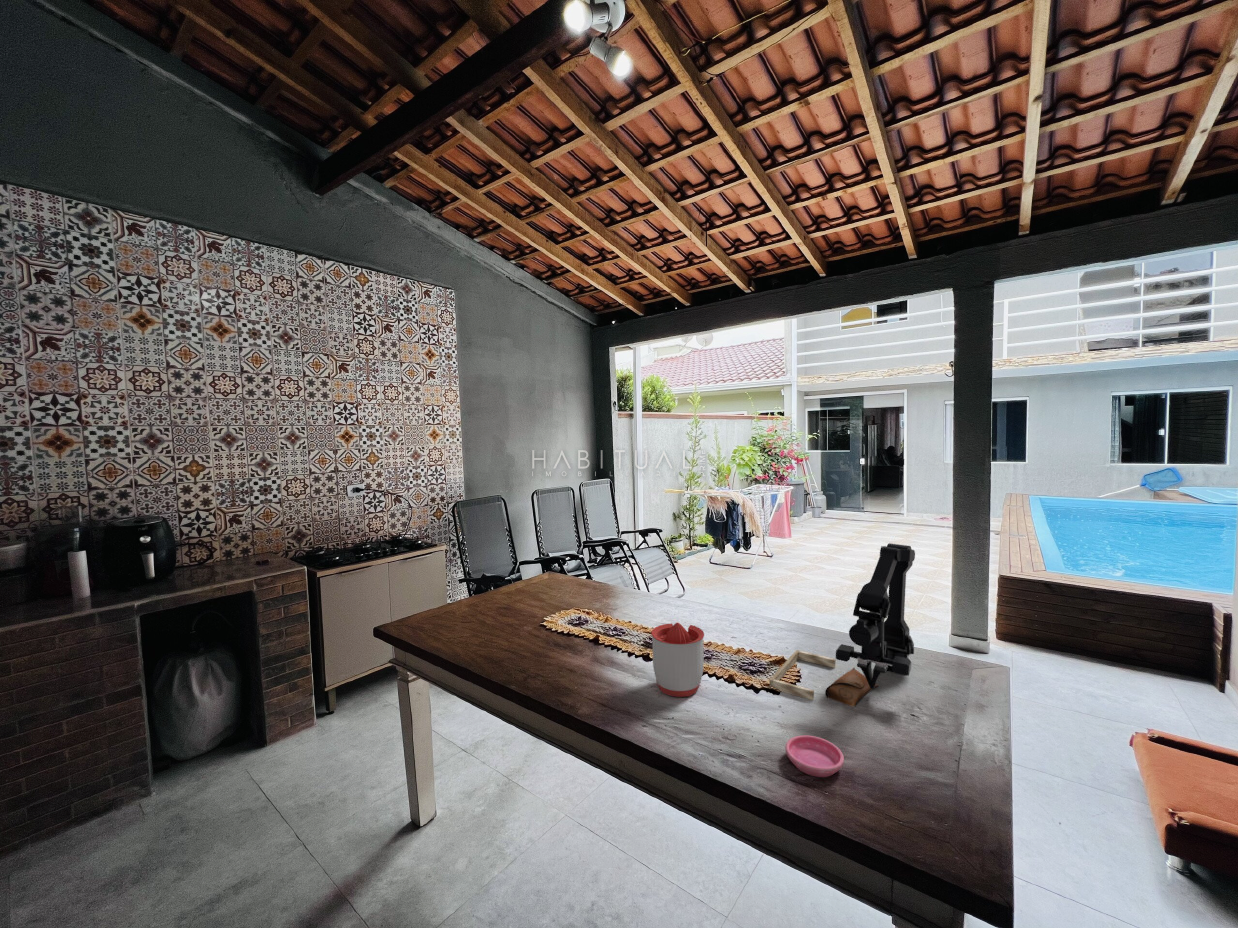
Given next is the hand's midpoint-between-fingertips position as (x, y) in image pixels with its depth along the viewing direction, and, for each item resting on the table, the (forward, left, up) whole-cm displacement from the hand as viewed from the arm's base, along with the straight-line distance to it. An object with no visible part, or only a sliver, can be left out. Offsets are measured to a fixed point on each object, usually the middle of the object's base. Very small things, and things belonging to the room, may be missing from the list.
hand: (872, 688), depth 144 cm
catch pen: (+19, 0, -2) cm, 19 cm away
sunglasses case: (+5, +1, -3) cm, 6 cm away
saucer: (+5, +40, -2) cm, 40 cm away
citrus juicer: (+48, +27, -2) cm, 55 cm away
